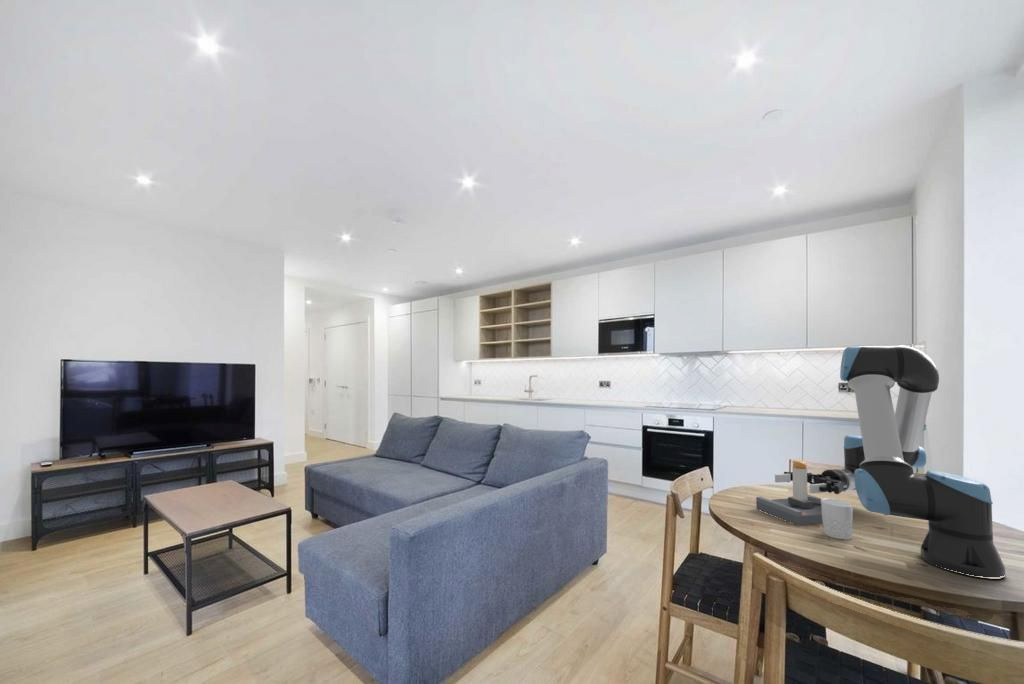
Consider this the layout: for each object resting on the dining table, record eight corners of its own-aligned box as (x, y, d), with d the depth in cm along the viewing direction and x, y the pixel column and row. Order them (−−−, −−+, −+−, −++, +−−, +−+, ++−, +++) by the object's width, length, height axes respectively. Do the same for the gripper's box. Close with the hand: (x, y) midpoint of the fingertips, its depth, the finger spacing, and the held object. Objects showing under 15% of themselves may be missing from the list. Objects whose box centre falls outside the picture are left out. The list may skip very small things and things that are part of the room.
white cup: (859, 538, 126) (858, 505, 127) (843, 542, 123) (842, 507, 124) (831, 529, 133) (830, 497, 134) (815, 532, 131) (814, 499, 131)
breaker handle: (813, 507, 144) (812, 463, 145) (804, 508, 143) (803, 464, 144) (796, 502, 150) (796, 459, 151) (788, 502, 149) (787, 460, 150)
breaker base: (847, 520, 142) (847, 506, 142) (797, 525, 136) (797, 511, 136) (803, 505, 157) (803, 493, 157) (756, 509, 151) (756, 496, 151)
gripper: (876, 501, 140) (827, 505, 134) (806, 481, 163) (762, 484, 158) (875, 478, 140) (827, 482, 134) (805, 462, 164) (762, 464, 158)
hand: (792, 483), depth 146 cm, fingers open, 12 cm apart
